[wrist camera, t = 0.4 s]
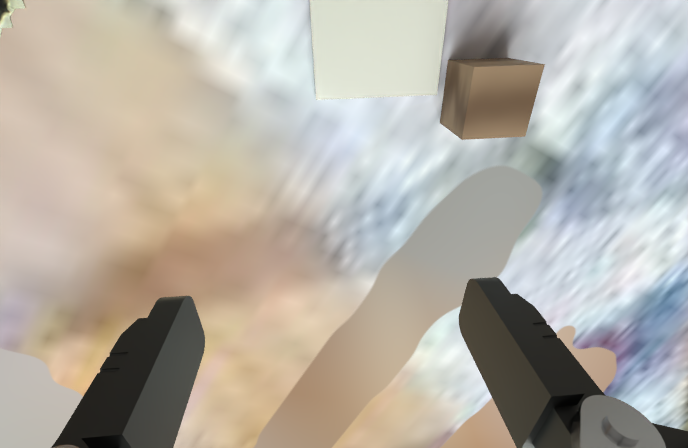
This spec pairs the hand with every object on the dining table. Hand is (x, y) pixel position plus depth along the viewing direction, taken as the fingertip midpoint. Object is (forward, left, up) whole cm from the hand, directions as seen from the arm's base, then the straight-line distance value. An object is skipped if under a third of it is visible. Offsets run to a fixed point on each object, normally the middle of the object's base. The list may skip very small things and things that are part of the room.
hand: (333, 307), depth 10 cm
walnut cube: (-1, +16, -27) cm, 32 cm away
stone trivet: (-7, +6, -27) cm, 29 cm away
